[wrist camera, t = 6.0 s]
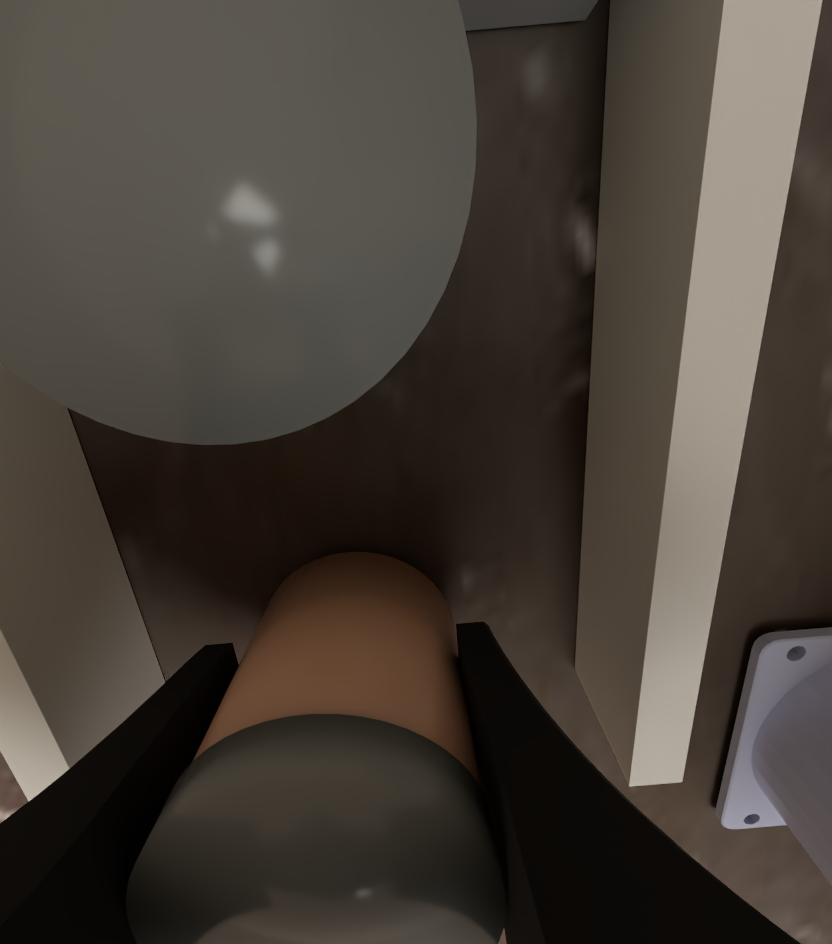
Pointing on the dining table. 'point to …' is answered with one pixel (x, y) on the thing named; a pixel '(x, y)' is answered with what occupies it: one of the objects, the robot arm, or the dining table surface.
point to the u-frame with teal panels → (609, 414)
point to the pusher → (521, 12)
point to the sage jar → (227, 203)
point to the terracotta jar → (331, 781)
